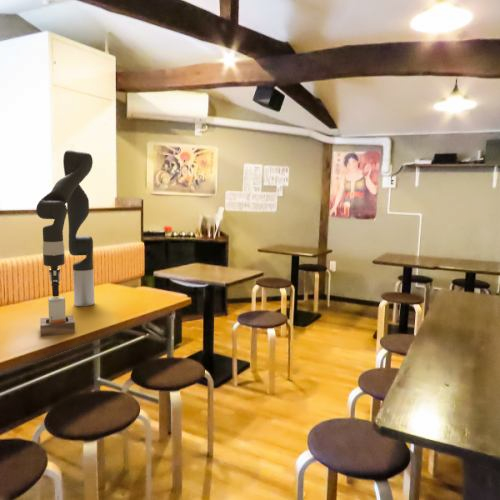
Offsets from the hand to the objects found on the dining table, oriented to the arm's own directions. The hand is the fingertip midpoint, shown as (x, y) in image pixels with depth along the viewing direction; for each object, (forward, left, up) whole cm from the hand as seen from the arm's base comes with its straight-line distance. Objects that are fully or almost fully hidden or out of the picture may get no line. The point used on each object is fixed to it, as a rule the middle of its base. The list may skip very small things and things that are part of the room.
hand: (55, 293), depth 170 cm
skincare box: (0, 0, -14) cm, 14 cm away
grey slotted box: (0, 0, -15) cm, 15 cm away
